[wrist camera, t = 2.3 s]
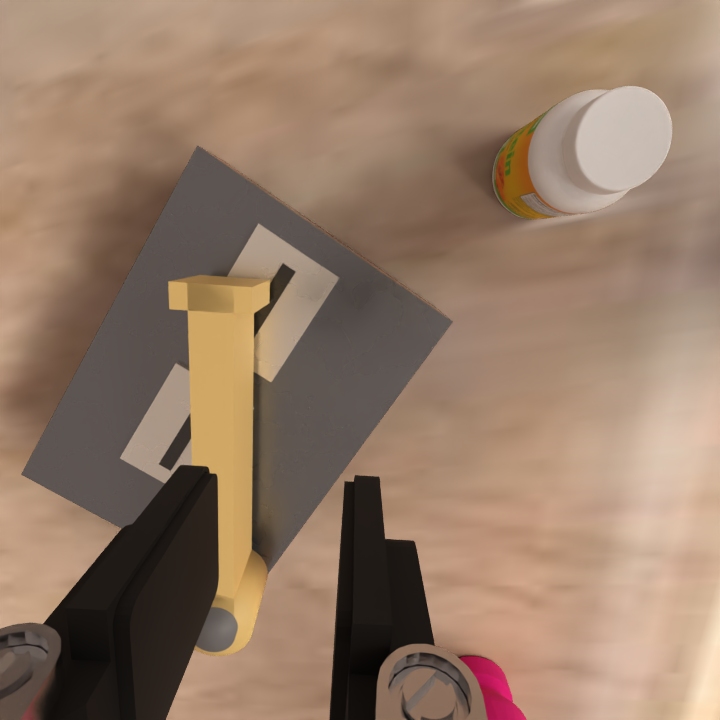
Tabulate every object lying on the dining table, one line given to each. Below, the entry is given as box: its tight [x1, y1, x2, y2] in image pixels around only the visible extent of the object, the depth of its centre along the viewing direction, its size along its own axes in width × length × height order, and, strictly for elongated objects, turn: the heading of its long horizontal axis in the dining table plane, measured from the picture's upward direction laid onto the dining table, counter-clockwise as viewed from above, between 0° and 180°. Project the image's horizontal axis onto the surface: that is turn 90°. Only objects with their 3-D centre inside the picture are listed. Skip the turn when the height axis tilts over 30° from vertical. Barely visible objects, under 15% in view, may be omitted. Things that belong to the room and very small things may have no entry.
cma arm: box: [168, 275, 270, 656], centre depth 24 cm, size 20×4×5 cm, turn 176°
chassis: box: [21, 146, 453, 573], centre depth 28 cm, size 22×16×5 cm
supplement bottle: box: [492, 86, 672, 219], centre depth 23 cm, size 5×5×10 cm
